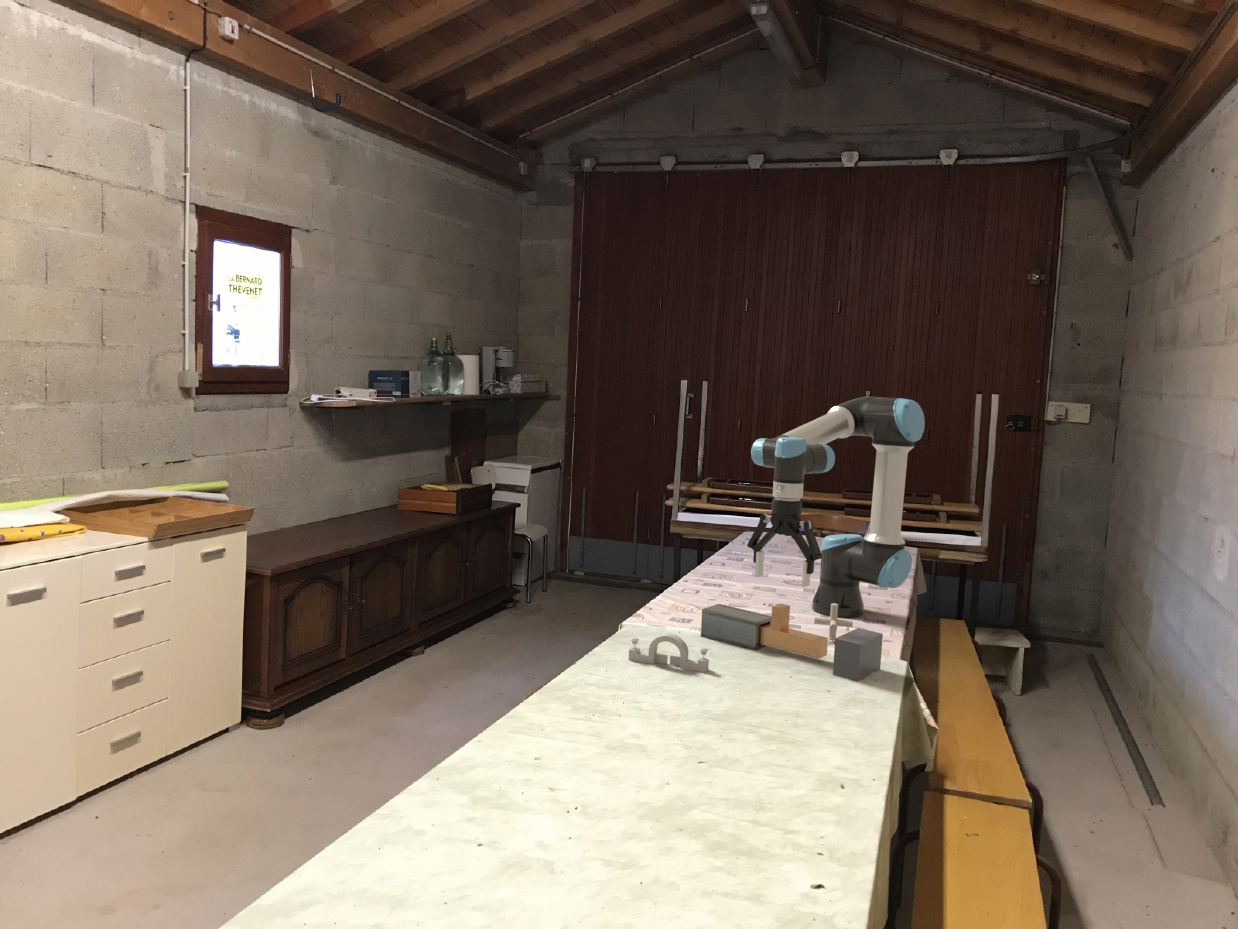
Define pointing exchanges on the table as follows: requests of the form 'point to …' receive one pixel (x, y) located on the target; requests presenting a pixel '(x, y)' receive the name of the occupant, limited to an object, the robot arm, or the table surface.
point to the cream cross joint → (833, 622)
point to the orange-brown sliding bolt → (790, 635)
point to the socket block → (857, 654)
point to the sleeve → (733, 626)
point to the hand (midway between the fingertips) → (781, 581)
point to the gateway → (674, 660)
